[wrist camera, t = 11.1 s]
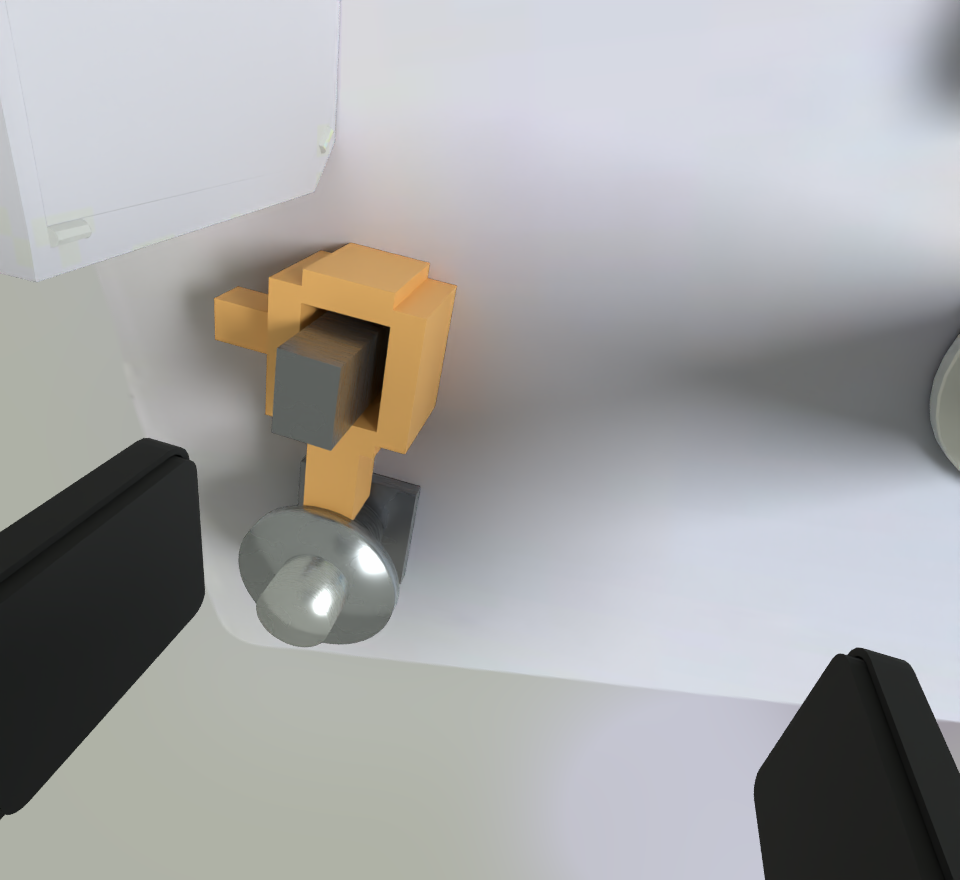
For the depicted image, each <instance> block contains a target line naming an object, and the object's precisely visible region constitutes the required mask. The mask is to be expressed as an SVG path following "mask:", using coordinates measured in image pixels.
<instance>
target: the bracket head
mask: <svg viewBox="0 0 960 880" xmlns="http://www.w3.org/2000/svg"><path fill="white" fill-rule="evenodd" d="M429 266H430V263H428V262H424V261H420V260H416V259H412V258H408V257H404V256H401V255H397V254H393V253H389V252H385V251H381V250H377V249H374V248H370V247H366V246H362V245H358V244H354V243H349V244H347V245H346V246H344V247H342V248H340V249H338V250H336V251H335V252H333V253H330V252H326V251H322V250H321V251H319V252H317V253H315V254H313V255H311V256H309V257H307V258H305V259H303V260H301V261H299V262H297V263H295V264H294V265H292V266H290V267H288V268H286V269H284V270H282V271H280V272H278V273H276V274H274V275H272V276H270V277H269V291H268V294H265V293H261V292H257V291H254V290H250V289H246V288H243V287H239V286H238V287H236V288H234V289H232V290H230V291H228V292H226V293H224V294H222V295H220V296H218V297H216V298H214V312H215V340H218V341H222V342H225V343H229V344H233V345H236V346H240V347H243V348H247V349H251V350H254V351H258V352H261V353H265V354H267V371H266V411H265V414H266V415H269V416H272V415H273V399H274V384H275V368H276V353H277V348H278V347H279V346H280V345H282V344H283V343H285V342H286V341H287V340H289V339H290V338H291V337H293V336H294V335H296V334H297V333H298V332H300V331H301V330H302V329H304V328H305V327H307V326H308V325H309V324H311V323H312V322H314V321H315V320H316V319H318V318H319V317H320V316H322V315H323V314H325V313H326V312H327V311H333V312H337V313H340V314H344V315H348V316H352V317H355V318H359V319H363V320H366V321H370V322H374V323H378V324H381V325H385V326H389V327H390V334H389V342H388V350H387V357H386V365H385V373H384V380H383V388H382V390H381V392H380V393H379V394H378V395H377V396H376V398H375V399H374V400H373V401H372V402H371V404H370V405H369V406H368V407H367V408H366V410H365V411H364V412H363V413H362V414H361V415H360V417H359V418H358V419H357V420H356V421H355V423H354V424H353V425H352V426H351V427H350V429H349V430H348V431H347V432H346V433H345V435H344V436H343V437H342V438H341V439H340V441H339V442H338V443H337V444H336V445H335V446H334V448H333V449H332V450H331V451H329V450H326V449H323V448H320V447H317V446H314V445H310V444H307V457H306V472H305V487H304V503H303V505H308V506H316V507H320V508H325V509H328V510H331V511H334V512H337V513H339V514H342V515H344V516H346V517H348V518H350V519H351V520H354V518H355V517H356V515H357V514H358V512H359V511H360V509H361V508H362V506H363V505H364V503H365V501H366V500H367V498H368V497H369V495H370V489H371V481H372V474H373V466H374V458H375V456H376V454H377V453H378V451H379V450H380V449H381V448H384V449H388V450H391V451H395V452H398V453H402V454H406V452H407V451H408V449H409V447H410V446H411V444H412V443H413V441H414V439H415V438H416V436H417V435H418V433H419V431H420V430H421V428H422V427H423V425H424V423H425V422H426V420H427V419H428V417H429V415H430V414H431V412H432V411H433V409H434V407H435V404H436V399H437V393H438V388H439V382H440V377H441V371H442V365H443V360H444V354H445V349H446V343H447V338H448V332H449V327H450V321H451V316H452V310H453V305H454V299H455V293H456V288H457V286H456V285H452V284H448V283H444V282H441V281H437V280H433V279H429V278H428V272H429Z"/></svg>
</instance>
